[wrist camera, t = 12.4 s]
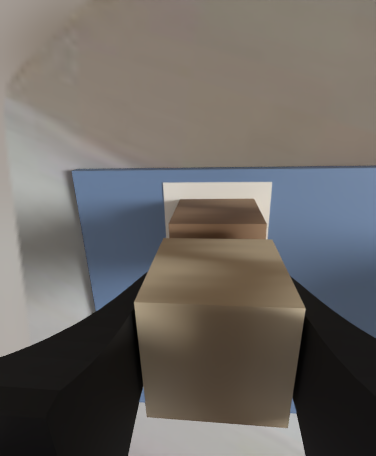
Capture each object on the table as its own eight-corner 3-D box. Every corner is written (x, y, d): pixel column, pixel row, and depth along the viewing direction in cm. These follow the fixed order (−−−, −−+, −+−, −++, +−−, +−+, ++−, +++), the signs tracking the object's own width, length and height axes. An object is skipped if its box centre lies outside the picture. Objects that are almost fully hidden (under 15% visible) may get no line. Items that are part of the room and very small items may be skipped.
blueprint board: (114, 391, 25) (110, 401, 24) (77, 169, 18) (70, 171, 17) (396, 411, 23) (403, 422, 22) (482, 164, 16) (497, 167, 15)
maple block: (168, 324, 13) (146, 417, 9) (163, 237, 12) (133, 302, 8) (264, 328, 13) (287, 427, 9) (272, 239, 11) (305, 308, 7)
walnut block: (182, 263, 19) (173, 304, 15) (180, 199, 17) (168, 223, 13) (250, 264, 18) (260, 307, 14) (253, 198, 17) (267, 224, 12)
